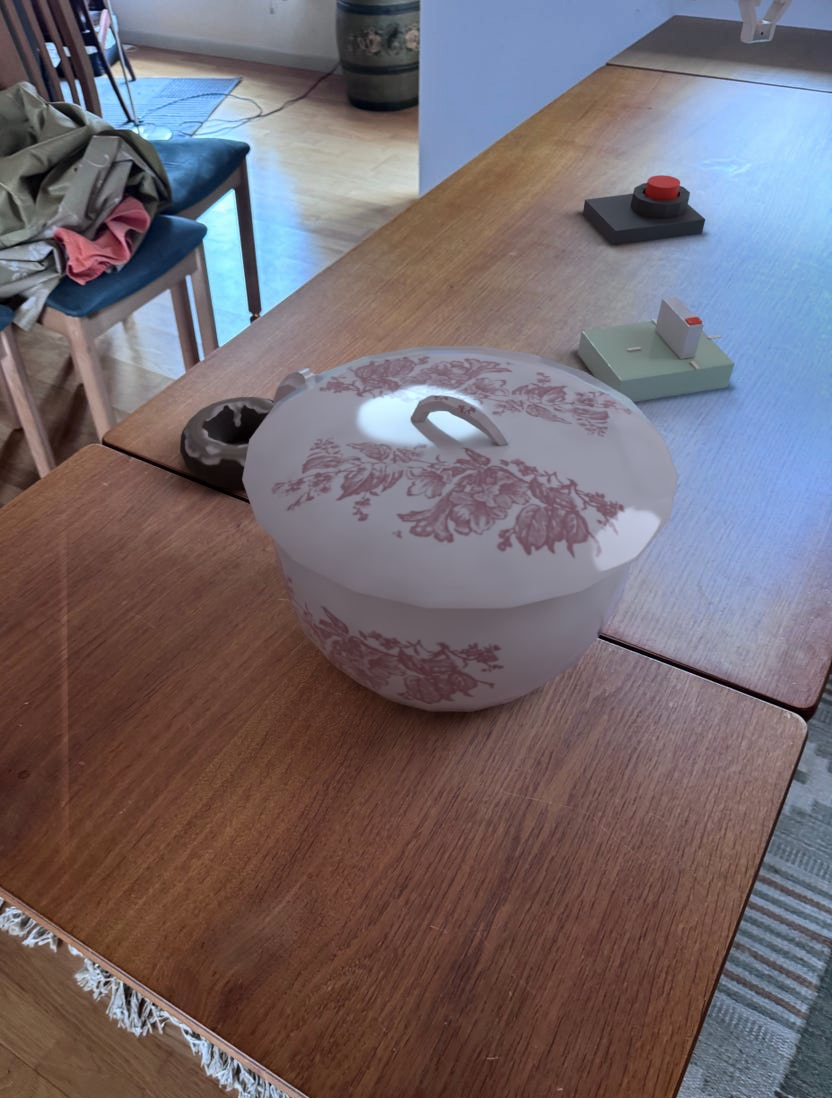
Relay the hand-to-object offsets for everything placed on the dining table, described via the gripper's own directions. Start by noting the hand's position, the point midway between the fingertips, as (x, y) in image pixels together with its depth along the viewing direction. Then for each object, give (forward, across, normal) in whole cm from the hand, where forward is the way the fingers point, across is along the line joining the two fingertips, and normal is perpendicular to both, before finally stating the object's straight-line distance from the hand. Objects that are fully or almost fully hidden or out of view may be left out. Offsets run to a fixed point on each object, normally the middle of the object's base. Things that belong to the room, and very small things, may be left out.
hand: (755, 41), depth 99 cm
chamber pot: (+23, +52, +57) cm, 80 cm away
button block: (+21, +7, -6) cm, 23 cm away
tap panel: (+22, +21, +27) cm, 41 cm away
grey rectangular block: (+19, +19, +27) cm, 38 cm away
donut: (+22, +64, +31) cm, 74 cm away
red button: (+18, +5, -6) cm, 19 cm away
